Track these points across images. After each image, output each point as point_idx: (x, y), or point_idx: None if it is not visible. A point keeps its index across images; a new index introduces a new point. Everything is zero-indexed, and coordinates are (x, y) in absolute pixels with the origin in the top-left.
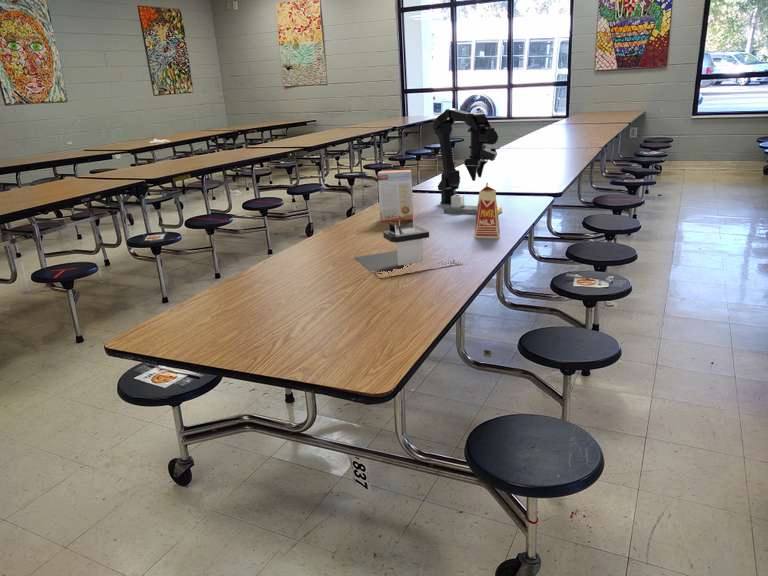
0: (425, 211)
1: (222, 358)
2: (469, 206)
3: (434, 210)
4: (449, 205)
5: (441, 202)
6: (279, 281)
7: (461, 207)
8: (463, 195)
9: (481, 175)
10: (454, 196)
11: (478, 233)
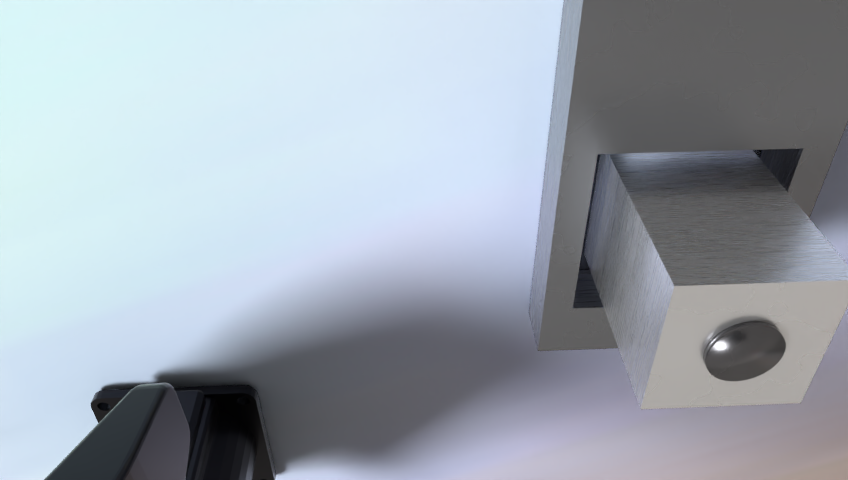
0: (669, 454)
1: None
2: (642, 96)
3: (617, 412)
4: (588, 345)
5: (274, 475)
6: None
7: (742, 174)
8: (704, 286)
9: (101, 423)
10: (789, 371)
11: None
